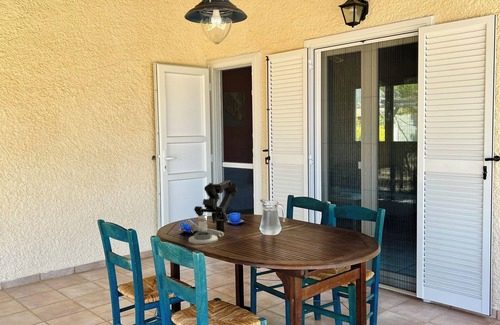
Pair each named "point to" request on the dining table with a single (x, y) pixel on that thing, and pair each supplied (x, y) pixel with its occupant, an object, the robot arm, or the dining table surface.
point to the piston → (202, 225)
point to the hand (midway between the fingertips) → (206, 222)
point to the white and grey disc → (203, 238)
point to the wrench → (195, 227)
